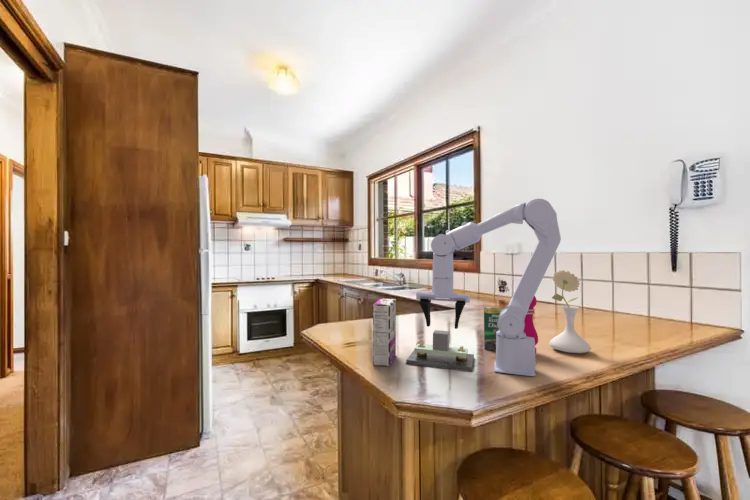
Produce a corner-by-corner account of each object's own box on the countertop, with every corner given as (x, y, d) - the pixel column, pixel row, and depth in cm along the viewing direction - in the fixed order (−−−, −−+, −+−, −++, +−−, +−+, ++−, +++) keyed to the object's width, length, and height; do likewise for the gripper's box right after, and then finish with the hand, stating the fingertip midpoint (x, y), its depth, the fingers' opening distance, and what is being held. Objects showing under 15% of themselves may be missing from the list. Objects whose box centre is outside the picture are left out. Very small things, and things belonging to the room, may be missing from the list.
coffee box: (482, 349, 110) (483, 307, 110) (484, 347, 113) (485, 306, 113) (510, 353, 106) (510, 309, 106) (511, 351, 109) (512, 308, 109)
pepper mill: (543, 356, 104) (543, 288, 104) (519, 356, 103) (520, 288, 103) (530, 349, 111) (531, 285, 111) (508, 349, 110) (508, 285, 110)
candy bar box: (379, 353, 104) (380, 298, 104) (396, 354, 103) (396, 298, 103) (371, 365, 93) (372, 303, 93) (390, 367, 92) (390, 304, 92)
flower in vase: (600, 355, 105) (601, 271, 106) (568, 357, 103) (569, 271, 103) (566, 343, 118) (567, 269, 118) (537, 345, 115) (538, 269, 115)
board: (467, 352, 98) (467, 332, 98) (466, 357, 93) (466, 336, 93) (417, 347, 102) (418, 328, 102) (414, 351, 97) (414, 331, 97)
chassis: (473, 357, 101) (474, 342, 101) (471, 371, 90) (471, 353, 90) (415, 351, 106) (415, 336, 106) (406, 363, 95) (406, 347, 95)
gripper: (414, 278, 97) (413, 327, 97) (468, 280, 92) (468, 332, 92) (419, 276, 103) (418, 322, 103) (470, 278, 99) (469, 326, 99)
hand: (442, 326), depth 98 cm, fingers open, 7 cm apart
